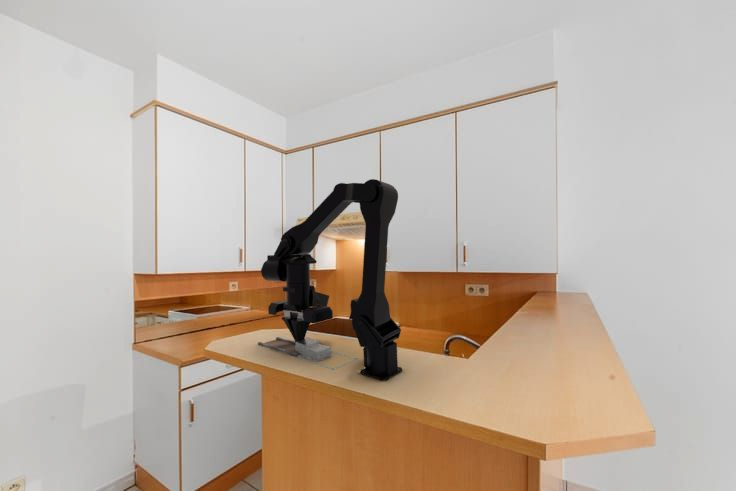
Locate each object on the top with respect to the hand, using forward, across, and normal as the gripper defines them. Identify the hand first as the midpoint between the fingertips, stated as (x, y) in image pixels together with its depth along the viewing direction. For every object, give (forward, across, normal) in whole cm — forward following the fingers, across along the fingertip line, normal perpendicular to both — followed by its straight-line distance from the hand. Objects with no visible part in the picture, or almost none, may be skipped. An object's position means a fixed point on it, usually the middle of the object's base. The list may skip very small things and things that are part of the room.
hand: (300, 345), depth 76 cm
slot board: (+3, +6, 0) cm, 7 cm away
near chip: (+2, -7, 0) cm, 7 cm away
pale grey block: (+1, -3, 0) cm, 3 cm away
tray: (+2, -9, 0) cm, 9 cm away
